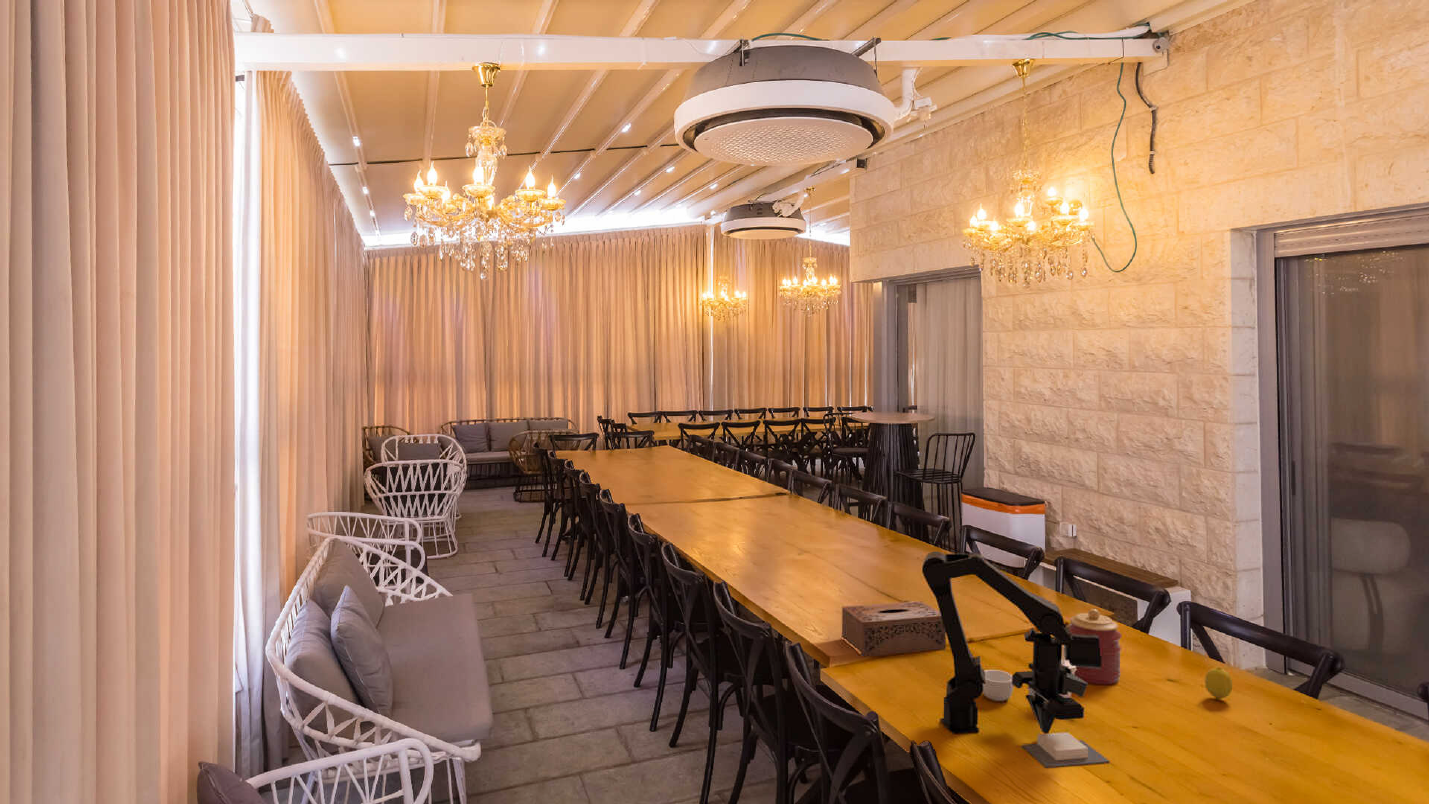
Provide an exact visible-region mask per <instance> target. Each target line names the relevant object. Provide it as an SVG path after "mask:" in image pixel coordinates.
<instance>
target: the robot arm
mask: <svg viewBox="0 0 1429 804" xmlns="http://www.w3.org/2000/svg"><path fill="white" fill-rule="evenodd" d="M921 570H922V572H921V573H922V575H923V577H924V578H925V581H926V583H927V585H928V588H929V589H930V591H931V592H932V593H933V595H934V597H935V600H936V602H937V605H938V611H939V612H940V613H941V617H942V620H943V624H944V627H945V631H946V639H947V640H948V644H949V646H950V650H951V654H952V658H953V669H954V670H953V672H954V676H953V677H951V678H950V679H949V680H948V681H947V682H946V690H945V691H946V693H945V696H944V697H943V717H942V718H939V720H940V723H942V725H943V726H944V727H946V729H947V730H948V731H949V732H950V733H951V734H962V733H963V734H964V733H966V734H967V733H976V732H977V733H978V732H980V728H979V727H978V722H979V719H978V718H979V716H978V715H979V708H978V706H977V701H976V699H978V698H979V697H981V696H982V694H983V684H985V669H983V667H982V663H981V656H980V655H977V656H975V657H974V655H973V654H972V651H971V650H970V648H969V645H968V644H969V643H968V640H967V638H966V637H967V636H966V634H965V630H964V627H963V623H962V620H961V616H960V614H959V609H958V607H957V603H956V600H955V595H954V593H953V586H952V584H953V583H952V579H956V578H960V577H965V576H973V575H974V576H976V577H977V578H979V580H981V581H982V582H984V583H985V584H986V585H988V586H989V587H990V588H992V590H993V591H996V592H997V593H999V595H1001V596H1002V597H1004V598H1005V599H1006V600H1008V601H1009V602H1010V603H1012V604H1013V605H1014V606H1016V607H1017V608H1018V609H1019V610H1020V612H1022V614H1024V616H1025V617H1026V618H1027V620H1029V622H1030V623H1031V624H1032V625H1033V626H1034V627H1035V628H1036V629H1037V630H1038V631H1036V629H1035V628H1034V627H1031V628H1030V630H1028V631H1026V632H1024V634H1023V637H1024V640H1025V642H1026V643H1027V642H1030V643H1033V648H1032V662H1028V668H1029V670H1027V671H1015V672H1014V673H1013V675H1012V684H1013V687H1015V688H1016V689H1021V688H1022V687H1023V685H1024V684H1026V685H1027V689H1028V694H1026V695H1025V698H1026V700H1027V701H1028V704H1029V705H1030V708H1031V710H1032V712H1033V714H1034V717H1035V718H1036V720H1037V721H1036V722H1037V723H1038V726H1039V729H1040V730H1041V732H1042V734H1050V733H1049V732H1050V730H1051V728H1052V726H1053V724H1054V722H1055V719H1056V720H1060V721H1061V720H1077V719H1078V720H1079V719H1084V717H1085V707H1084V706H1082V705H1081V703H1079V702H1078V701H1076V700H1075V699H1074V698H1072V696H1071V697H1068V698H1064V697H1062V696H1061V695H1059V694H1062V695H1068V692H1071V694H1073V695H1078V697H1079V698H1084V695H1085V694H1086V693H1085V692H1086V689H1087V687H1088V684H1089V683H1087V682H1085V681H1083V680H1082V679H1080V678H1079V677H1077V676H1075V675H1073V674H1071V669H1069V668H1068V667H1066V666H1063V665H1062V653H1063V646H1064V655H1065V660H1069V663H1070V664H1071V666H1079V667H1088V668H1096V669H1100V668H1101V654H1100V645H1099V637H1098V636H1097V635H1082V634H1072V633H1070V630H1069V628H1068V627H1067V626H1068V625H1066V624H1065V622H1064V617H1063V614H1062V612H1061V609H1060V607H1058V605H1057V604H1056V603H1054V602H1052V601H1050V600H1048V599H1046V598H1045V597H1042V596H1040V595H1037V594H1035V593H1032V592H1031V591H1028V590H1027V589H1025V588H1024V587H1023V586H1021V585H1020V584H1019V583H1018V582H1016V581H1015V580H1014V579H1012V578H1011V577H1009V576H1008V575H1006V574H1005V573H1004V572H1003V571H1002V570H1001V569H999V568H997V567H996V566H994V565H993V564H992V563H991V562H989V561H988V560H987V559H985V558H984V556H983V555H982V554H980V553H976V552H972V553H946V554H945V553H943V552H941V551H932V552H929V553H928V554H927V555H926V556H925V558H924V559H923V564H922V569H921Z"/></svg>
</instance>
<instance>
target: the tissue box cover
mask: <svg viewBox="0 0 1429 804" xmlns="http://www.w3.org/2000/svg"><path fill="white" fill-rule="evenodd" d="M841 609H842V610H841V614H842V615H841V617H842V618H841V638H842V637H843V638H844V639H846V640H847V641H848V642H849V643H850V644H852V645H853V646H854V647H855V648H857V649H858V650H859V651H860V652H861V655H860V656H861V657H862V658H863V657H874V656H883V655H884V656H886V655H895V654H907V653H916V652H926V651H938V650H946V646H947V643H946V642H947V634H946V631H945V627H944V624H943V620H942V617H941V613H940V610H939V609H938V610H937V609H935V608H934V607H933V606H930V605H929V604H927V603H925V602H924V601H922V600H916V601H915V600H914V601H902V602H901V601H900V602H889V603H874V604H862V605H849V606H842V608H841Z"/></svg>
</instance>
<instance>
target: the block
mask: <svg viewBox="0 0 1429 804" xmlns="http://www.w3.org/2000/svg"><path fill="white" fill-rule="evenodd" d="M1036 744H1038V745H1039V746H1040V747H1042V748H1043V749H1044V750H1045V751H1046V752H1047V753H1049V754H1050V755H1051V756H1052V757H1053V758H1054V759H1056V760H1065V759H1077V758H1088V748H1087V747H1086V746H1085V745H1083V744H1082V743H1081V742H1079V741H1078V739H1077V738H1076V737H1074V736H1073V735H1072V734H1070V733H1069V732H1068V731H1067V732H1055V733H1040V734H1037V738H1036Z"/></svg>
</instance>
